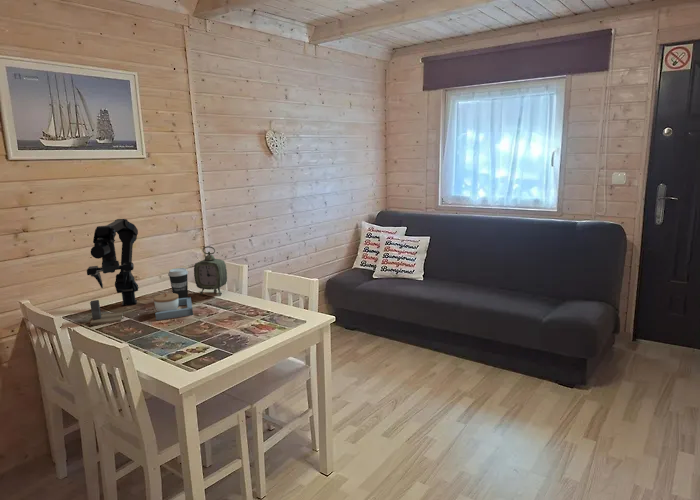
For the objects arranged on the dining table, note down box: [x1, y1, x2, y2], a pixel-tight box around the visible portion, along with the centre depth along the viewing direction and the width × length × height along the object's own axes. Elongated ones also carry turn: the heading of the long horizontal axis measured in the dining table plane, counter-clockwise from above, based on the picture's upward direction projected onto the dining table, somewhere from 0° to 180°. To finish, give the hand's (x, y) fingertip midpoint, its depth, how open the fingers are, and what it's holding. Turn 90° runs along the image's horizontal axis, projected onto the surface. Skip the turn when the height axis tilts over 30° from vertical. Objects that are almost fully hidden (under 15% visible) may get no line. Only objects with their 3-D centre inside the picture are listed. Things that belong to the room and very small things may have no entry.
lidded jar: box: [153, 292, 179, 312], centre depth 217 cm, size 11×11×9 cm
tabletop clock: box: [193, 245, 228, 296], centre depth 242 cm, size 14×9×25 cm, turn 76°
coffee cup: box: [167, 267, 189, 299], centre depth 236 cm, size 10×10×15 cm
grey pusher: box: [89, 299, 124, 327], centre depth 211 cm, size 12×12×10 cm
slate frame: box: [154, 296, 194, 321], centre depth 219 cm, size 19×16×3 cm
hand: (113, 286), depth 216 cm, fingers open, 9 cm apart
